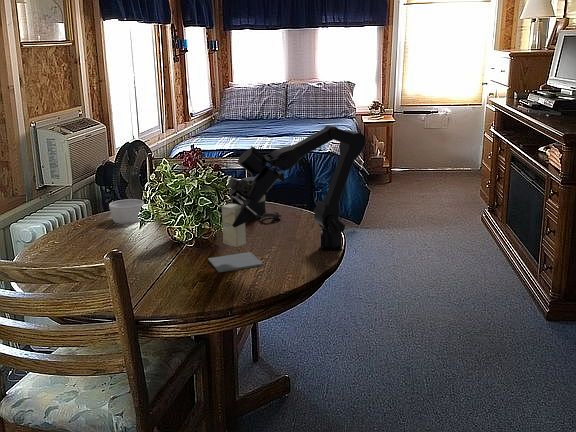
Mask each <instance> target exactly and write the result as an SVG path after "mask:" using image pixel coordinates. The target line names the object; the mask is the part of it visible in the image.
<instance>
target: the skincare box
mask: <svg viewBox="0 0 576 432" xmlns="http://www.w3.org/2000/svg"><path fill="white" fill-rule="evenodd" d="M240 212H241V205H237V204H233V203H228V204H224V205H221V218H222V219H221V222H222V241H223V242H222V243H223V244H225V245H228V246H231V247H235V248H237V247H240V246H244V245H246V244H247V238H246V222H245V223H243V224H241V225H239V226H237V227H235V228H234V227H233V226H232V224H233V223H234V221H235V219H236V218H237V216H238V215H239V213H240Z"/></svg>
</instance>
